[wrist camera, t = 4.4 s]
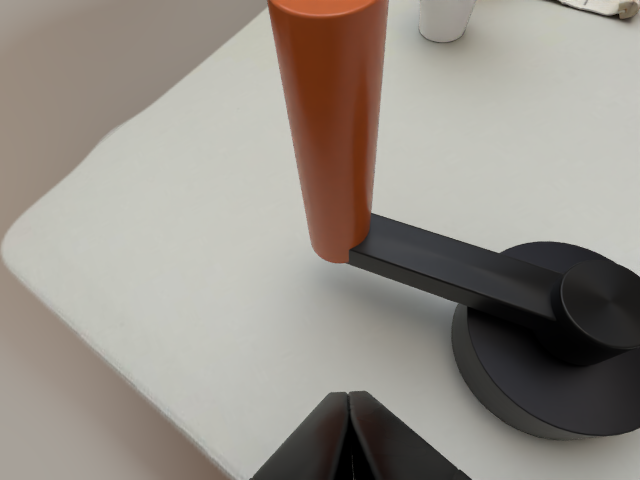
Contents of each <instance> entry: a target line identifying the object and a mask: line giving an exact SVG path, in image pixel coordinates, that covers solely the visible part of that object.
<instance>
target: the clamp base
mask: <svg viewBox="0 0 640 480" xmlns="http://www.w3.org/2000/svg"><path fill="white" fill-rule="evenodd" d="M500 254H503V255H506V256H509V257H512V258H515V259H519V260H522V261H525V262H528V263H531V264H534V265H537V266H541V267H544V268H547V269H550V270H553V271H556V272H560V273H563V274H564V273H565V272H566V271H567V270H568V269H569V268H571V267H572V266H574V265H576V264H578V263H580V262H584V261H590V260H602V261H608V262H612V263H615V262H613V261H612V260H610V259H608V258H606V257H604V256H602V255H600V254H598V253H596V252H593V251H591V250H589V249H585V248H582V247H579V246H576V245H571V244H567V243H560V242H531V243H525V244H521V245H517V246H514V247H512V248H509V249H506V250H505V251H503V252H501V253H500ZM452 346H453V352H454V356H455V360H456V362H457V365H458V368H459V370H460V372H461V374H462V376H463V378H464V380H465V382H466V383H467V385H468V386H469V388H470V389H471V391H472V392H473V394H474V395H475V396H476V397H477V398H478V399H479V400H480V402H481V403H482V404H483V405H484V406H485V407H486V408H487V409H489V410H490V411H491V412H492V413H493V414H494V415H496V416H497V417H498V418H500V419H501V420H503V421H504V422H506V423H507V424H509V425H511V426H513V427H514V428H516V429H519V430H521V431H523V432H525V433H528V434H531V435H534V436H538V437H541V438H547V439H553V440H573V439H583V438H593V437H604V436H613V435H620V434H624V433H628V432H631V431H634V430H636V429H638V428H640V347H638V348H636V349H633V350H631V351H628V352H626V353H623V354H620V355H618V356H615V357H613V358H610V359H608V360H605V361H603V362H600V363H598V364H594V365H586V366H585V365H576V364H572V363H568V362H566V361H563V360H561V359H559V358H558V357H556V356H554V355H553V354H551V353H550V352H549V351H548V350H547V349H546V348H545V347H544V346H543V345H542V344H541V343H540V341H539V340H538V338H537V337H536V335H535V333H534V331H533V329H530V328H527V327H524V326H522V325H519V324H516V323H513V322H510V321H507V320H505V319H502V318H499V317H496V316H493V315H491V314H488V313H485V312H482V311H479V310H476V309H474V308H471V307H468V306H465V305H462V304H460V303H459V304H458V306H457V308H456V310H455V314H454V317H453V322H452Z"/></svg>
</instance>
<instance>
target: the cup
mask: <svg viewBox="0 0 640 480" xmlns="http://www.w3.org/2000/svg"><path fill="white" fill-rule="evenodd" d="M475 2H476V0H420V17H419V30H420V33H421V34H422V35H423V36H424V37H425V38H427V39H429V40H432V41H436V42H450V41H453V40H456V39H458V38H459V37H461V36H462V35H463V33H464V30H465V28H466V26H467V23H468V20H469V18H470V15H471V12H472V10H473V8H474V5H475Z"/></svg>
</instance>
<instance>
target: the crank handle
mask: <svg viewBox="0 0 640 480" xmlns="http://www.w3.org/2000/svg"><path fill="white" fill-rule="evenodd" d="M267 2H268V8H269V13H270V19H271V24H272V30H273V35H274V41H275V46H276V52H277V58H278V63H279V69H280V74H281V80H282V85H283V91H284V96H285V102H286V107H287V113H288V118H289V124H290V129H291V135H292V140H293V146H294V151H295V157H296V162H297V168H298V174H299V179H300V185H301V190H302V196H303V201H304V207H305V212H306V218H307V223H308V229H309V234H310V240H311V245H312V247H313V249H314V251H315V252H316V253H317V254H318V256H320V257H321V258H322V259H324V260H326V261H329V262H332V263H347V264H350V265H352V266H355V267H358V268H361V269H364V270H367V271H369V272H372V273H375V274H378V275H381V276H383V277H386V278H389V279H392V280H395V281H398V282H400V283H403V284H406V285H409V286H412V287H414V288H417V289H420V290H423V291H426V292H429V293H431V294H434V295H437V296H440V297H443V298H445V299H448V300H451V301H454V302H457V303H460V304H462V305H465V306H468V307H471V308H474V309H476V310H479V311H482V312H485V313H488V314H491V315H493V316H496V317H499V318H502V319H505V320H507V321H510V322H513V323H516V324H519V325H522V326H524V327H527V328H530V329H533V331H534V333H535V335H536V337H537V338H538V340H539V341H540V343H541V344H542V345H543V346H544V347H545V348H546V349H547V350H548V351H549V352H550V353H551V354H553V355H554V356H556V357H558V358H559V359H561V360H563V361H566V362H568V363H572V364H576V365H585V366H586V365H594V364H598V363H600V362H603V361H605V360H608V359H610V358H613V357H615V356H618V355H620V354H623V353H626V352H628V351H631V350H633V349H636V348H638V347H640V277H639V276H638V275H637V274H635V273H634V272H632V271H631V270H629V269H627V268H625V267H623V266H621V265H618V264H616V263H612V262H608V261H602V260H590V261H584V262H580V263H578V264H576V265H574V266H572V267H571V268H569V269H568V270H567V271H566V272H565V273H564V274H563V273H560V272H556V271H553V270H550V269H547V268H544V267H541V266H537V265H534V264H531V263H528V262H525V261H522V260H519V259H515V258H512V257H509V256H506V255H503V254H500V253H496V252H493V251H490V250H487V249H484V248H481V247H477V246H474V245H471V244H468V243H465V242H462V241H459V240H455V239H452V238H449V237H446V236H443V235H440V234H436V233H433V232H430V231H427V230H424V229H421V228H417V227H414V226H411V225H408V224H405V223H402V222H399V221H395V220H392V219H389V218H386V217H383V216H380V215H376V214H373V213H371V209H372V197H373V185H374V173H375V161H376V149H377V137H378V125H379V112H380V100H381V88H382V76H383V64H384V52H385V40H386V28H387V16H388V4H389V0H267Z"/></svg>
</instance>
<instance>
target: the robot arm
mask: <svg viewBox="0 0 640 480" xmlns="http://www.w3.org/2000/svg"><path fill="white" fill-rule="evenodd" d="M348 401H349V403H348ZM352 462H353V464H352ZM353 477H354V480H472V479H471V478H470V477H468V476H467V475H466V474H465V473H464V472H462V471H461V470H458V469H457V467H455V466H454V465H453V464H452V463H451V462H450V461H448V460H447V459H446V458H445V457H444V456H443V455H441V454H440V453H439V452H438V451H437V450H435V449H434V448H433V447H432V446H431V445H430V444H428V443H427V442H426V441H425V440H424V439H422V438H421V437H420V436H419V435H418V434H417V433H415V432H414V431H413V430H412V429H411V428H409V427H408V426H407V425H406V424H405V423H404V422H402V421H401V420H400V419H399V418H398V417H397V416H395V415H394V414H393V413H392V412H391V411H389V410H388V409H387V408H386V407H385V406H384V405H382V404H381V403H380V402H379V401H378V400H376V399H375V398H374V397H373V396H372V395H371V394H369V393H368V392H367V391H352V392H349V394H347V393H346V392H331V393H329V394H328V395H327V396H326V397H325V398H324V399H323V400H322V401H321V402H320V403H319V405H318V406H317V407H316V408H315V409H314V410H313V411H312V412H311V413H310V414H309V416H308V417H307V418H306V419H305V420H304V421H303V422H302V423H301V424H300V425H299V426H298V428H297V429H296V430H295V431H294V432H293V433H292V434H291V435H290V436H289V437H288V438H287V440H286V441H285V442H284V443H283V444H282V445H281V446H280V447H279V448H278V449H277V451H276V452H275V453H274V454H273V455H272V456H271V457H270V458H269V459H268V460H267V461H266V463H265V464H264V465H263V466H262V467H261V468H260V469H259V470H258V471H257V472H256V474H255V475H254V476H253V478H250V479H249V480H353Z"/></svg>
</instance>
